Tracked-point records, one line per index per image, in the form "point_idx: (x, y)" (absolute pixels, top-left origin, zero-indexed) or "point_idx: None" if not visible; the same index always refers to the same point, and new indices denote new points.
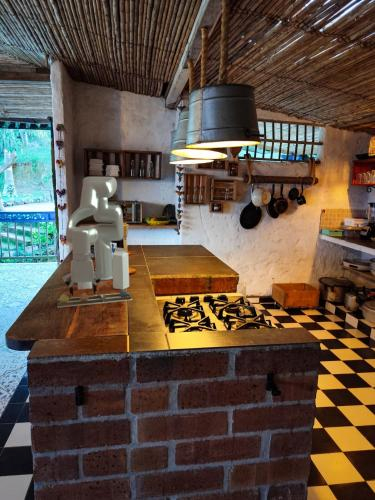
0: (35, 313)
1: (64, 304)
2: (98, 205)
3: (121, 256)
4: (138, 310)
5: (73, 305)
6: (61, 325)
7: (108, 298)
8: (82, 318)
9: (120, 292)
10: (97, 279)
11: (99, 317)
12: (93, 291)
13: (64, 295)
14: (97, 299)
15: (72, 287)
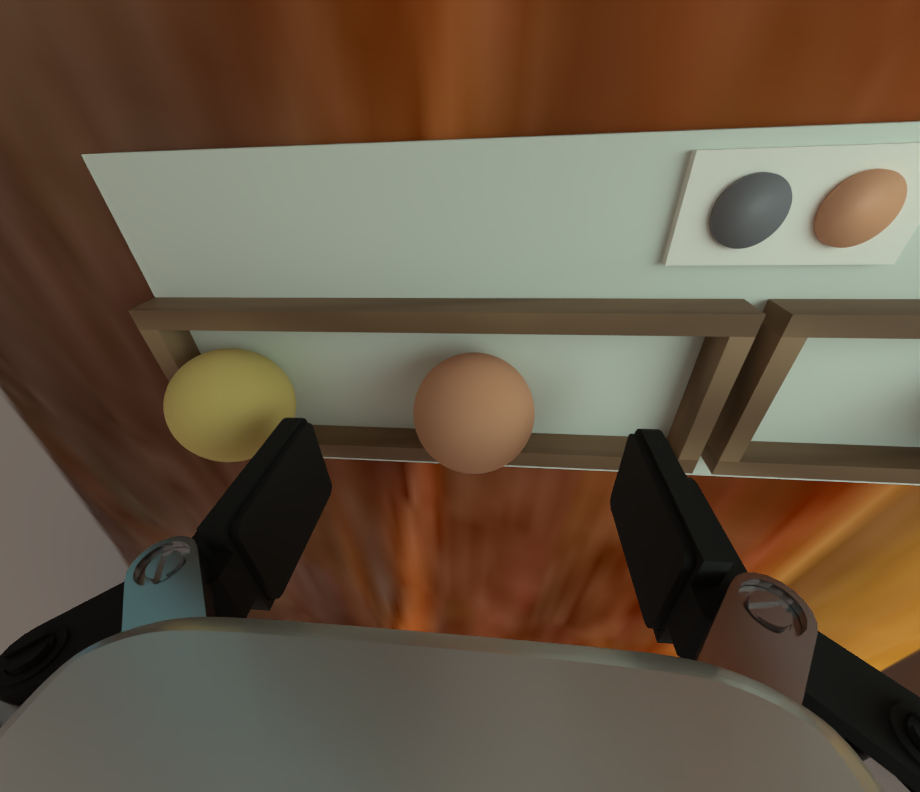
0: (107, 447)
1: None
2: None
3: None
4: (855, 602)
5: None
6: (356, 613)
7: (770, 464)
8: (457, 588)
9: None
10: (874, 759)
11: (556, 604)
12: (625, 484)
13: (213, 455)
14: (652, 356)
15: (271, 598)
